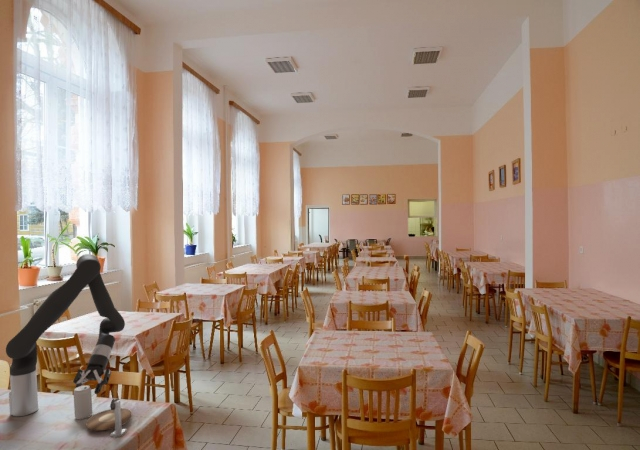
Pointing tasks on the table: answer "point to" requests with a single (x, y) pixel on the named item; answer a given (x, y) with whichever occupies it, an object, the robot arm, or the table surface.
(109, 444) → the table surface
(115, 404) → the stand
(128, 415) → the disc
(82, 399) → the beverage can
